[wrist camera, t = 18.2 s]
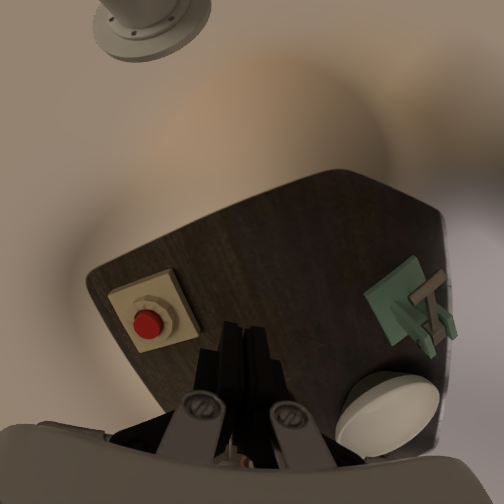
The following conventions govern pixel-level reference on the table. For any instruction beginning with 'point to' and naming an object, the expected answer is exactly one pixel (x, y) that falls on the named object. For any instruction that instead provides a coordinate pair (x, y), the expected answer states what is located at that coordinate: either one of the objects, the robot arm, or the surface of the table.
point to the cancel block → (156, 309)
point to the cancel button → (147, 324)
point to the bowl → (385, 412)
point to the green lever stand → (405, 307)
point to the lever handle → (430, 305)
